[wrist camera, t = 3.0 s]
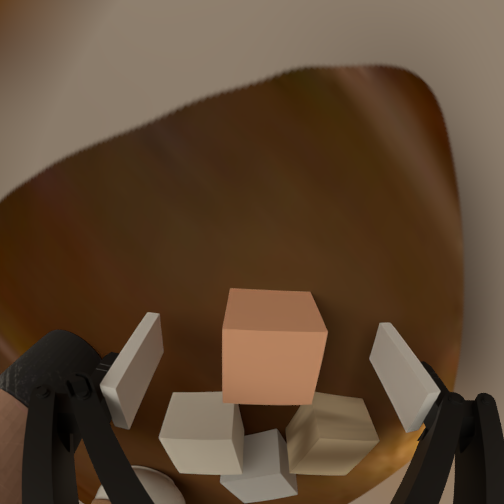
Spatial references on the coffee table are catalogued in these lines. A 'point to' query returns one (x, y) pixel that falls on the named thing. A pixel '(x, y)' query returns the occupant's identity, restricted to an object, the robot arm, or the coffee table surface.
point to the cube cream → (203, 434)
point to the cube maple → (329, 435)
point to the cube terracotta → (271, 347)
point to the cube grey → (263, 469)
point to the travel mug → (19, 391)
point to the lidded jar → (150, 487)
